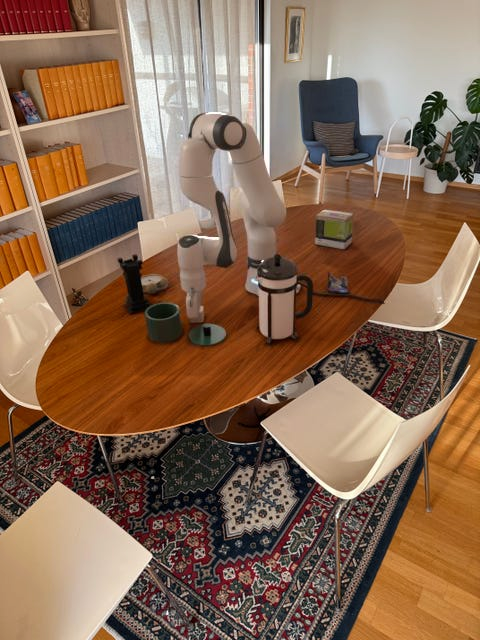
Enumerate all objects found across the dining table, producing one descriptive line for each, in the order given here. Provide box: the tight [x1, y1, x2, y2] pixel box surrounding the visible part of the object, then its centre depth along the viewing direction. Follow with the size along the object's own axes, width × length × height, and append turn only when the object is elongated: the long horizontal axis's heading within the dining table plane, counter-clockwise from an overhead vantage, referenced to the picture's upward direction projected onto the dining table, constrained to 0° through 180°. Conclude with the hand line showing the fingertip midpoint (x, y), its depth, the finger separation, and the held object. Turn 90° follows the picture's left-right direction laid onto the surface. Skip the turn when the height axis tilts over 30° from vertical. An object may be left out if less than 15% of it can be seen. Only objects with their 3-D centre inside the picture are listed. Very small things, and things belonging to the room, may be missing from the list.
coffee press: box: [254, 253, 314, 346], centre depth 153 cm, size 17×16×30 cm
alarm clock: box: [141, 273, 169, 295], centre depth 192 cm, size 11×5×15 cm
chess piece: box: [116, 253, 151, 315], centre depth 175 cm, size 8×8×20 cm
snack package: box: [326, 271, 350, 294], centre depth 185 cm, size 12×6×12 cm
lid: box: [188, 323, 227, 347], centre depth 160 cm, size 13×13×5 cm
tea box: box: [314, 209, 355, 250], centre depth 220 cm, size 15×10×15 cm
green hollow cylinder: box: [144, 302, 183, 344], centre depth 161 cm, size 12×12×10 cm
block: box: [189, 305, 205, 323], centre depth 169 cm, size 4×4×4 cm
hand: (197, 315), depth 169 cm, fingers closed on block, 4 cm apart
